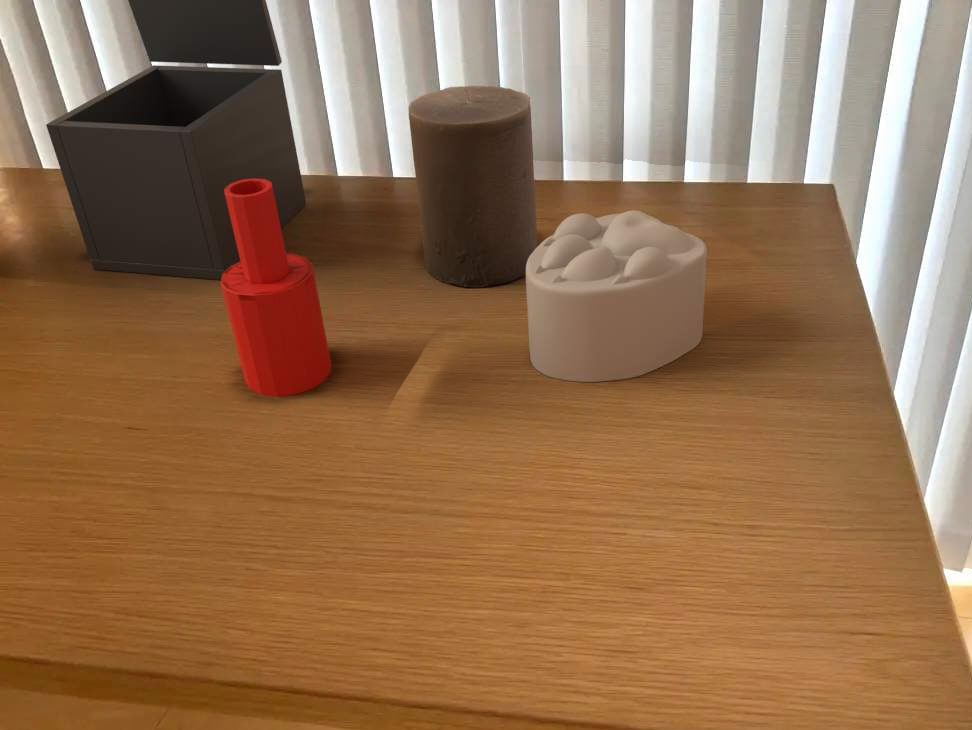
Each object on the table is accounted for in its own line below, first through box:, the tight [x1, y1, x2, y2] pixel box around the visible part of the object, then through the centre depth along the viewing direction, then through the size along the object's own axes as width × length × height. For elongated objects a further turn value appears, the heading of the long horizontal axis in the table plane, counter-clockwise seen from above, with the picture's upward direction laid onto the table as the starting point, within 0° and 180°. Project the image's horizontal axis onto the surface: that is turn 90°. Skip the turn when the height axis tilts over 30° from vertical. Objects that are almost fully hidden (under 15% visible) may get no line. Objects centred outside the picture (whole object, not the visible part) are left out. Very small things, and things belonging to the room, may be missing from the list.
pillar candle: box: [408, 85, 539, 288], centre depth 82 cm, size 10×10×15 cm
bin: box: [45, 64, 307, 281], centre depth 89 cm, size 16×13×13 cm
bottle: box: [220, 178, 332, 397], centre depth 67 cm, size 6×6×15 cm
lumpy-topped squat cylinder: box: [525, 210, 708, 383], centre depth 72 cm, size 10×13×9 cm
